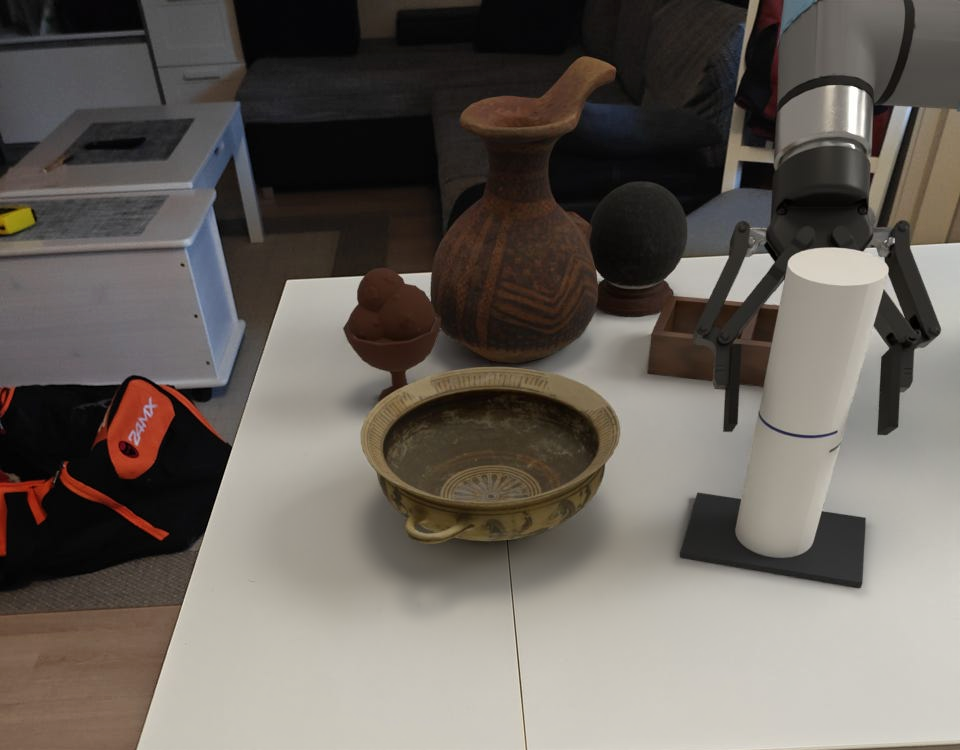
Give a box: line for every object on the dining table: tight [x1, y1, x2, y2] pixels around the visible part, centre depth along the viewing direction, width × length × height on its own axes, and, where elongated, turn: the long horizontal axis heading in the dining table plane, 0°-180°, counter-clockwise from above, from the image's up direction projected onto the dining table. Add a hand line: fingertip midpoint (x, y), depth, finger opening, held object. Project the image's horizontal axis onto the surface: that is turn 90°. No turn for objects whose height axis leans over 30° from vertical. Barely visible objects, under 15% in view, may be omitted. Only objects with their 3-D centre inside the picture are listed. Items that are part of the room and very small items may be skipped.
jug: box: [429, 56, 617, 364], centre depth 105 cm, size 22×22×30 cm
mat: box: [679, 492, 867, 588], centre depth 83 cm, size 16×10×1 cm, turn 71°
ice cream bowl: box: [342, 267, 441, 403], centre depth 100 cm, size 11×11×15 cm
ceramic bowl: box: [360, 366, 621, 545], centre depth 85 cm, size 30×24×10 cm
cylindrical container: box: [735, 248, 889, 558], centre depth 74 cm, size 7×7×25 cm
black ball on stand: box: [589, 180, 688, 317], centre depth 117 cm, size 13×13×15 cm
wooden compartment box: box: [647, 295, 780, 388], centre depth 106 cm, size 22×11×5 cm, turn 71°
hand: (808, 429), depth 72 cm, fingers open, 12 cm apart
